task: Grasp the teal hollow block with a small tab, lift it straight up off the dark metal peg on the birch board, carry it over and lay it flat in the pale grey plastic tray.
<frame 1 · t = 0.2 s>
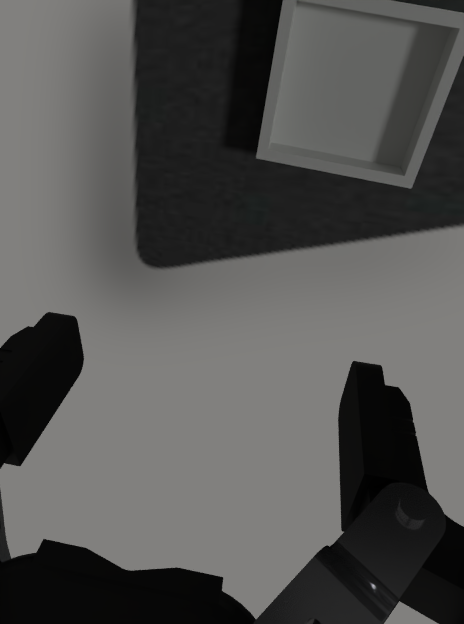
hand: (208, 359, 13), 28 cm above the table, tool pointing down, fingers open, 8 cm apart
tray: (352, 88, 33), on the table
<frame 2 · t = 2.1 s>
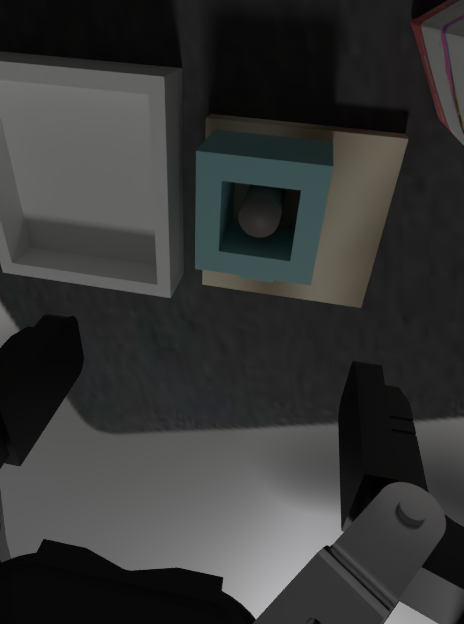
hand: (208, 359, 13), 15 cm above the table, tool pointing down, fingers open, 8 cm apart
teal hollow block: (267, 192, 24), point 1 cm above the table, touching peg board
tray: (93, 173, 26), on the table
peg board: (292, 214, 26), on the table
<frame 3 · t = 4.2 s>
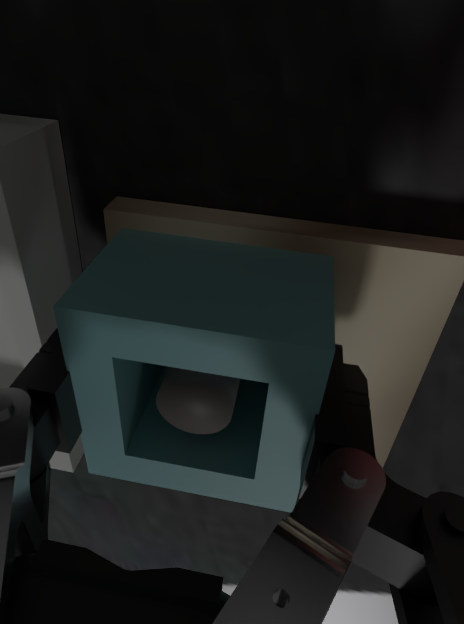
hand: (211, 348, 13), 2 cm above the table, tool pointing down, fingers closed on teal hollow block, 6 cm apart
teal hollow block: (219, 326, 14), point 1 cm above the table, touching gripper, peg board
peg board: (265, 349, 16), on the table
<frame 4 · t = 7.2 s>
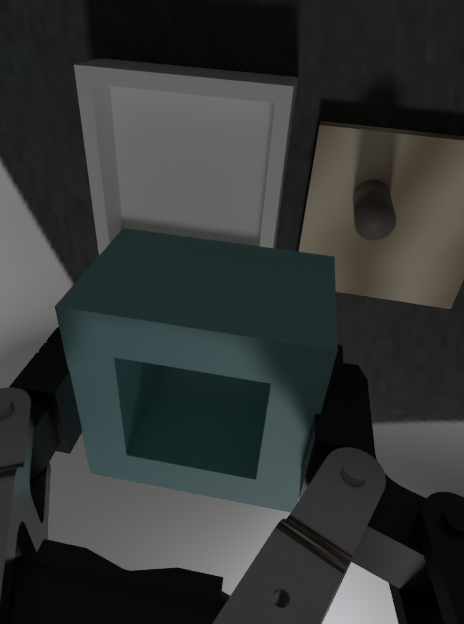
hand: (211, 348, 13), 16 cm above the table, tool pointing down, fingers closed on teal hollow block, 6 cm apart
teal hollow block: (221, 326, 14), point 15 cm above the table, touching gripper
tray: (195, 177, 27), on the table
peg board: (389, 218, 27), on the table
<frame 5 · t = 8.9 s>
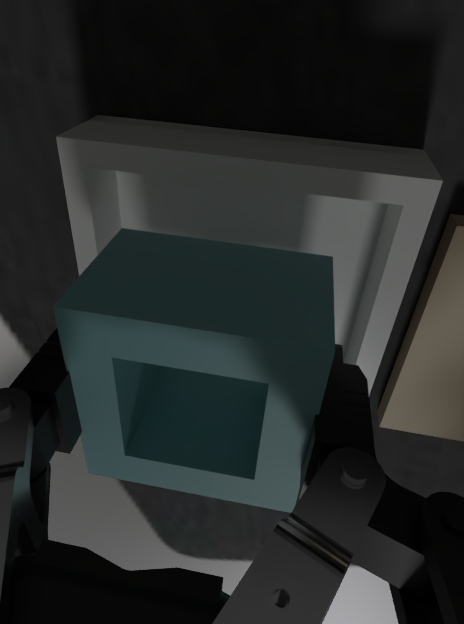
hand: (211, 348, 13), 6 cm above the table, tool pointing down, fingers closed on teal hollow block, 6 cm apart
teal hollow block: (219, 326, 14), point 4 cm above the table, touching gripper
tray: (241, 283, 18), on the table
when the fingers open (3 cm above the table, at t = 10.2 s): teal hollow block drops 1 cm, resting on tray.
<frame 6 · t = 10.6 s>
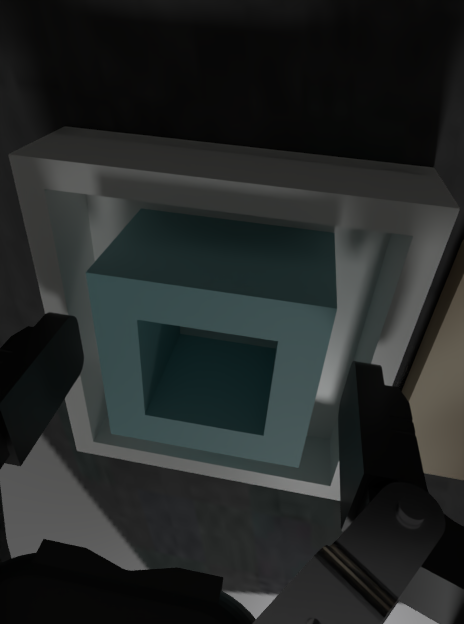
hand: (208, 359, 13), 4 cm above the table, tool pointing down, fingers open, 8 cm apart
teal hollow block: (230, 301, 15), point 1 cm above the table, touching tray
tray: (229, 311, 17), on the table
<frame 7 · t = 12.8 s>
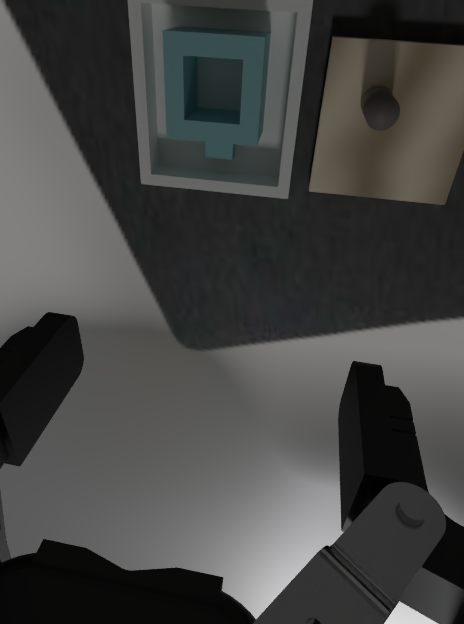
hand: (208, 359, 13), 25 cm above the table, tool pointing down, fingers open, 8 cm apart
teal hollow block: (223, 80, 30), point 1 cm above the table, touching tray
tray: (223, 94, 32), on the table
peg board: (391, 124, 31), on the table
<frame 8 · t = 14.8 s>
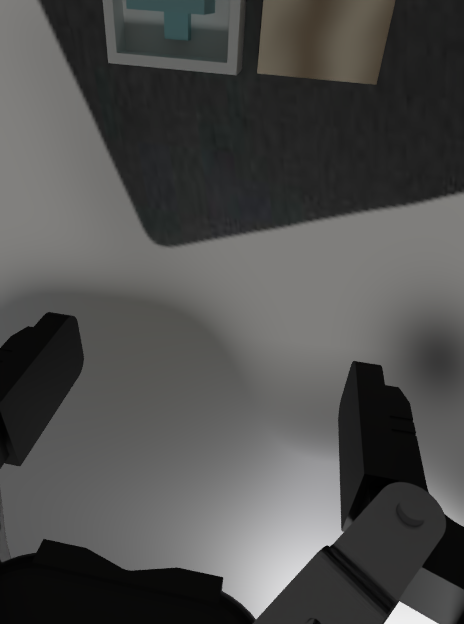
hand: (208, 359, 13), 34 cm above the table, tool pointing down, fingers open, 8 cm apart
peg board: (326, 6, 35), on the table
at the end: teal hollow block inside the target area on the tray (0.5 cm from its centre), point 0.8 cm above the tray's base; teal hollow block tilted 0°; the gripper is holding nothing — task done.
